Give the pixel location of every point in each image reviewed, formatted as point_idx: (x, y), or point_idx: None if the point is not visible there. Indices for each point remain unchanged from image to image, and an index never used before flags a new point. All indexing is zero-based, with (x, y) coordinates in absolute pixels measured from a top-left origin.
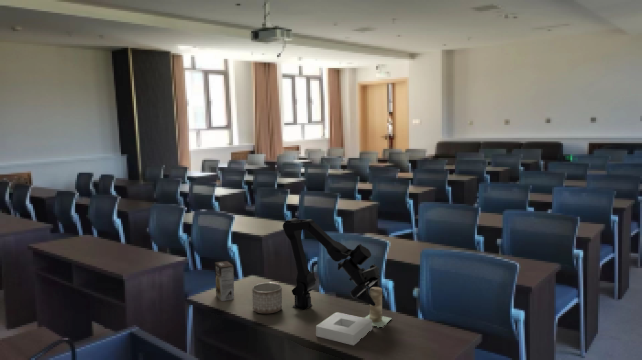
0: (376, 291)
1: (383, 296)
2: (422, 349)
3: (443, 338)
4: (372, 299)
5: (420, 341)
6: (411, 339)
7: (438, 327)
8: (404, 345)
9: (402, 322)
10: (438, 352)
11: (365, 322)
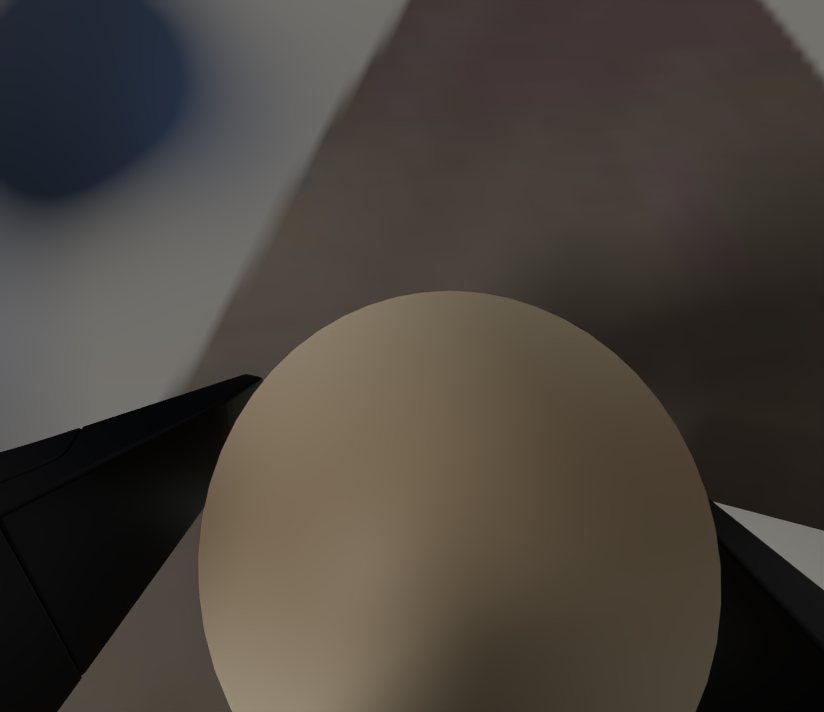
0: (687, 455)
1: (249, 380)
2: (780, 114)
3: (570, 32)
4: (731, 545)
5: (672, 132)
6: (668, 182)
7: (416, 62)
8: (785, 211)
9: (391, 267)
10: (770, 42)
11: (803, 562)
